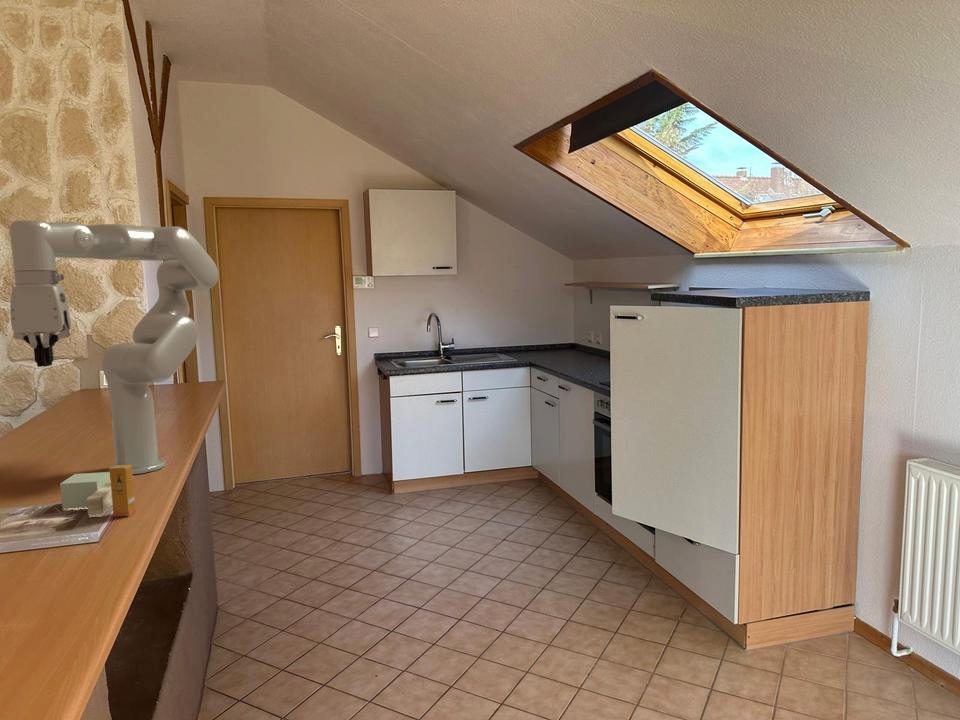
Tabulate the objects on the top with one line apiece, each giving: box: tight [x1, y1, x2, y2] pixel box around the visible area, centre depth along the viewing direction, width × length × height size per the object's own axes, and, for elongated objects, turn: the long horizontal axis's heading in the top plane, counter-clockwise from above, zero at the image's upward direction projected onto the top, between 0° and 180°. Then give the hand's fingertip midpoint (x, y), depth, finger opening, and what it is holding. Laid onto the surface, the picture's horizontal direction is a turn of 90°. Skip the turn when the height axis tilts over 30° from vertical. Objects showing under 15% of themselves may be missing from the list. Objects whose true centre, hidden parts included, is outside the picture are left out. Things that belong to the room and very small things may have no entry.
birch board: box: [87, 479, 112, 515], centre depth 143 cm, size 18×2×4 cm, turn 9°
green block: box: [59, 471, 111, 508], centre depth 142 cm, size 7×7×6 cm
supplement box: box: [110, 465, 137, 518], centre depth 136 cm, size 3×3×10 cm
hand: (44, 365), depth 145 cm, fingers closed
